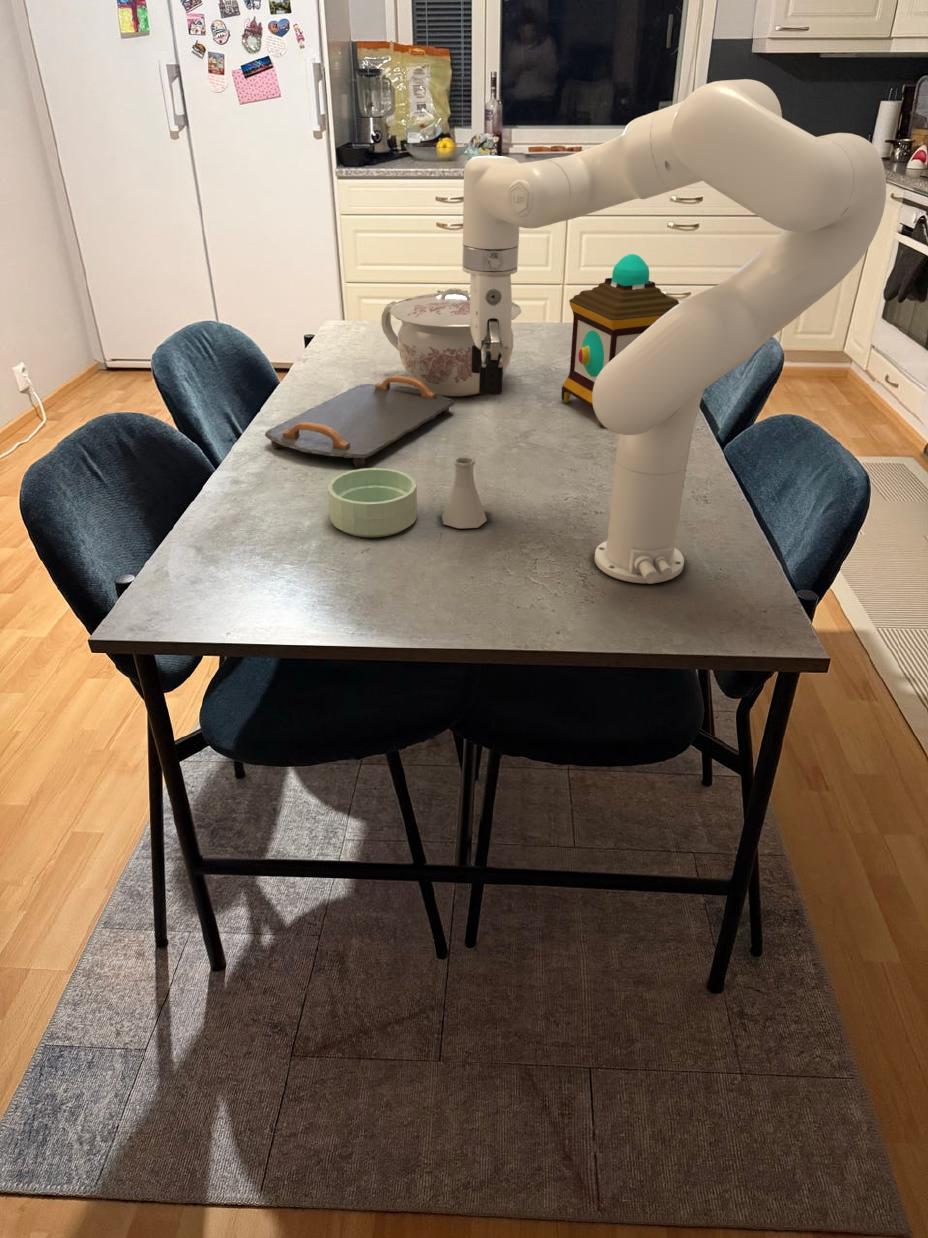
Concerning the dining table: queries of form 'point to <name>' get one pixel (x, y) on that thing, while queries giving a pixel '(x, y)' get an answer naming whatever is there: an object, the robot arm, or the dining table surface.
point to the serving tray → (361, 420)
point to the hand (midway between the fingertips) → (486, 382)
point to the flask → (464, 498)
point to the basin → (372, 502)
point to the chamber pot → (438, 340)
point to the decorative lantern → (611, 322)
